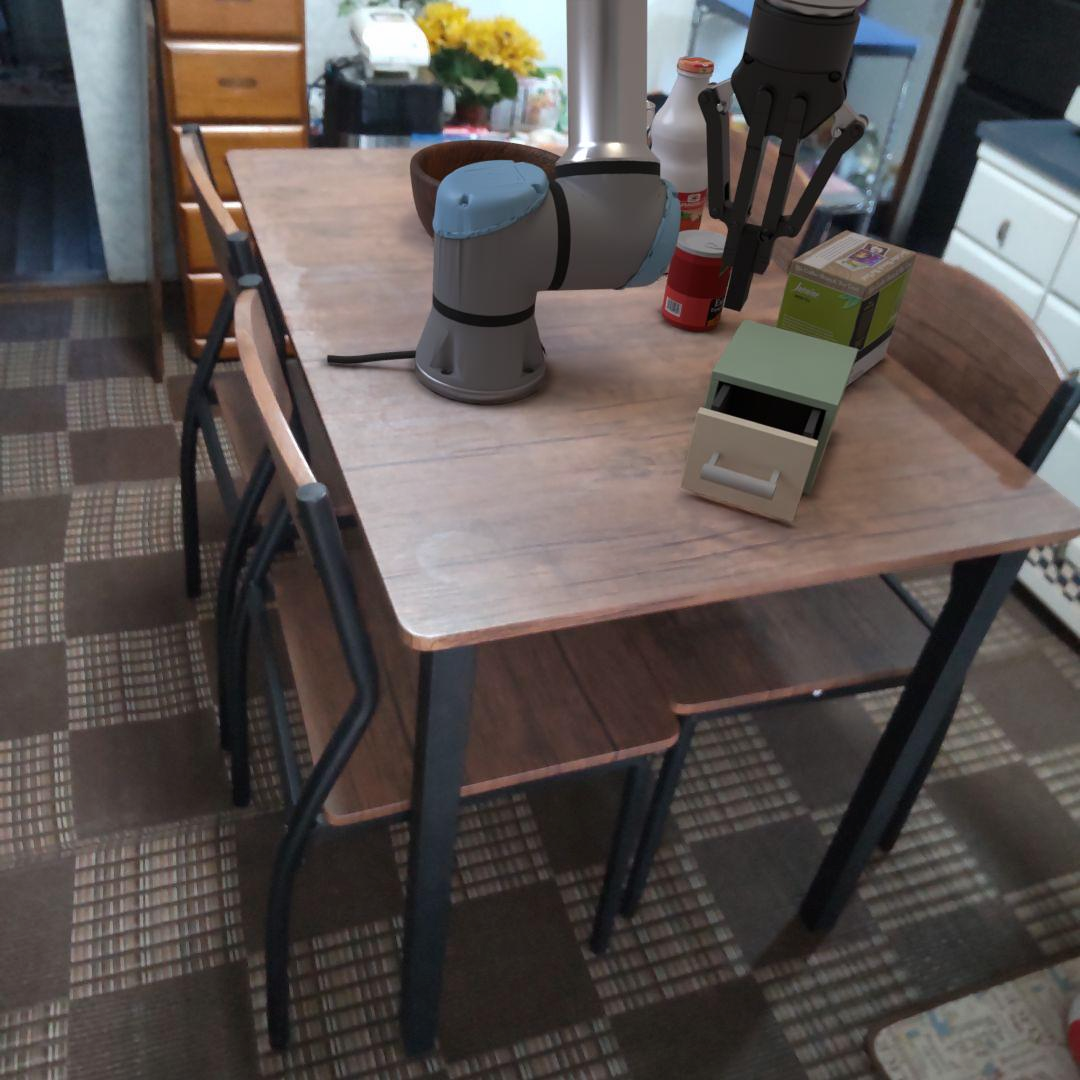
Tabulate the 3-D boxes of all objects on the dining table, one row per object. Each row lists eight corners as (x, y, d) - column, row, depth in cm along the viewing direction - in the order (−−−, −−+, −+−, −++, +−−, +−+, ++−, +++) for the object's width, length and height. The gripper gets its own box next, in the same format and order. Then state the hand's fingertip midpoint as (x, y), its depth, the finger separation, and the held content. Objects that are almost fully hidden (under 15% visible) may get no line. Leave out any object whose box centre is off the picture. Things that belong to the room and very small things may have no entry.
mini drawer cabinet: (809, 494, 104) (838, 405, 97) (692, 459, 107) (712, 370, 100) (831, 433, 114) (858, 348, 108) (723, 403, 117) (743, 319, 111)
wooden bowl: (560, 279, 141) (569, 207, 134) (389, 252, 142) (389, 180, 136) (583, 218, 160) (591, 153, 154) (431, 195, 162) (433, 129, 156)
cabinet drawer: (783, 546, 95) (808, 469, 89) (668, 509, 98) (684, 432, 92) (815, 460, 107) (838, 388, 102) (711, 430, 110) (728, 358, 105)
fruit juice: (670, 246, 154) (706, 51, 137) (704, 271, 148) (745, 69, 131) (618, 252, 151) (648, 51, 133) (650, 277, 144) (686, 70, 127)
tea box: (816, 332, 135) (847, 226, 126) (885, 360, 130) (922, 251, 121) (762, 368, 125) (791, 255, 116) (834, 399, 121) (870, 284, 112)
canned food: (717, 336, 131) (735, 257, 124) (657, 326, 132) (672, 246, 125) (720, 312, 137) (738, 235, 130) (663, 302, 138) (677, 225, 131)
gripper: (908, 6, 71) (817, 303, 87) (732, -28, 74) (675, 266, 90) (896, 31, 66) (801, 343, 81) (706, -7, 68) (650, 301, 84)
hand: (735, 302), depth 85 cm, fingers closed
